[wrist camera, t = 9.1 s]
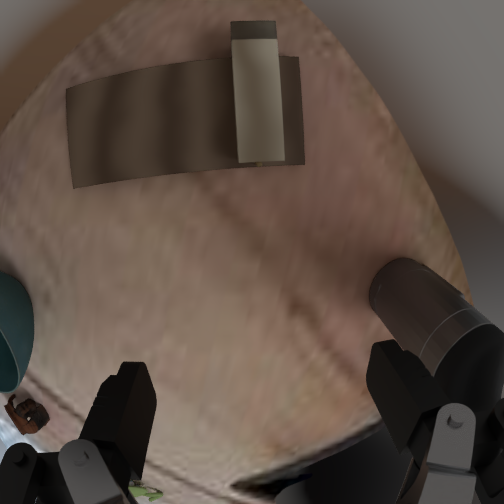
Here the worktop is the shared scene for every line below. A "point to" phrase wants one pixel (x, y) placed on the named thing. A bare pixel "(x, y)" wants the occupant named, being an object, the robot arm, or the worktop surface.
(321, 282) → the worktop surface
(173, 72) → the walnut plank
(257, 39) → the beige wooden block
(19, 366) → the plant pot
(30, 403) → the pottery mug
